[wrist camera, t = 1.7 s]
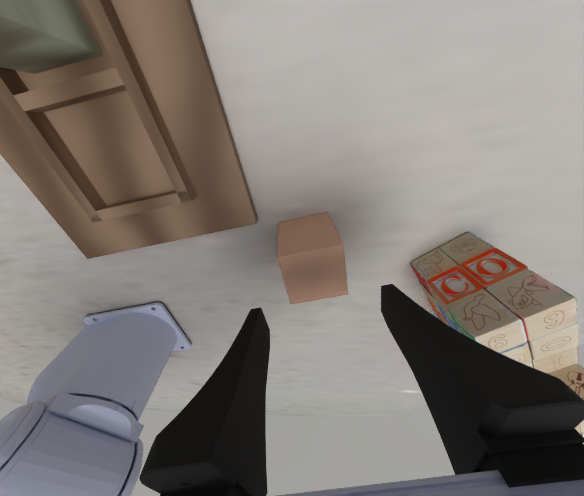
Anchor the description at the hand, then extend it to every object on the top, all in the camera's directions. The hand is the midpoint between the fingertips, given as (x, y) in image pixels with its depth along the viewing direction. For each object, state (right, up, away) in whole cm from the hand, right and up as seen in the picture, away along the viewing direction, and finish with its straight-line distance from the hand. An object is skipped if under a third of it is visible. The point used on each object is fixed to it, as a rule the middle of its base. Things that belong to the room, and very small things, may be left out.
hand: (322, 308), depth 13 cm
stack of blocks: (+19, -3, +14) cm, 24 cm away
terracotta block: (0, +5, +8) cm, 9 cm away
